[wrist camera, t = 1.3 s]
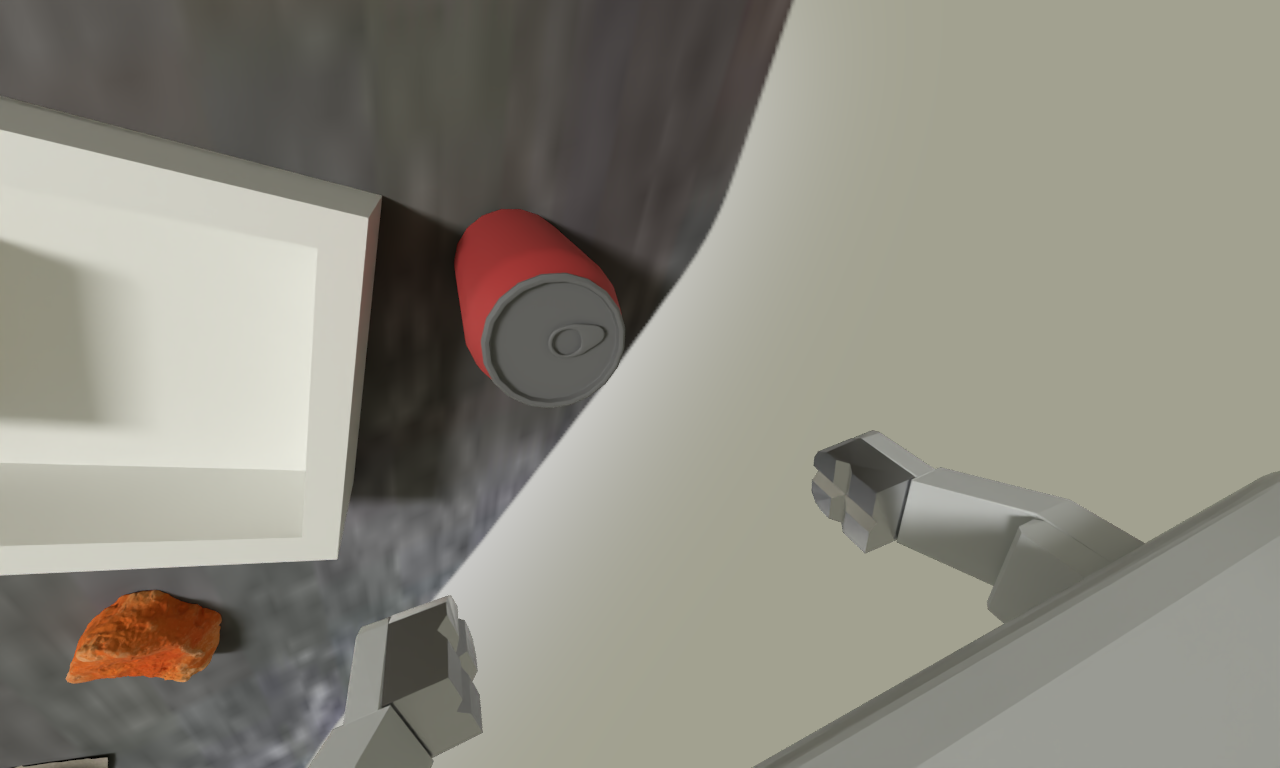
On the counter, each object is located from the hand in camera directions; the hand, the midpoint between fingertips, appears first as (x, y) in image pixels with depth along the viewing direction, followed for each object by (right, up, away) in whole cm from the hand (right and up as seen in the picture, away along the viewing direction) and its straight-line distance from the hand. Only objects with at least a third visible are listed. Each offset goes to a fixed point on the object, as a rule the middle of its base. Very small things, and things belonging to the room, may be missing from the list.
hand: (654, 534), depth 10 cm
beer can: (-8, +10, +18) cm, 22 cm away
